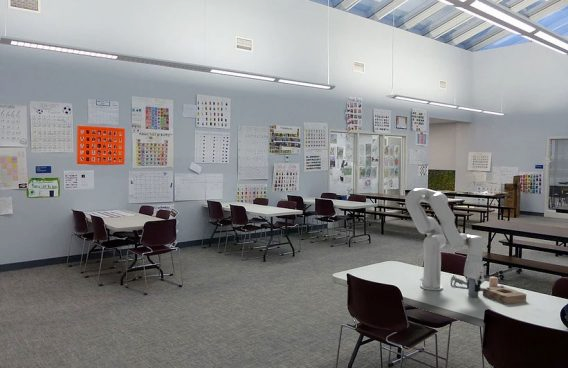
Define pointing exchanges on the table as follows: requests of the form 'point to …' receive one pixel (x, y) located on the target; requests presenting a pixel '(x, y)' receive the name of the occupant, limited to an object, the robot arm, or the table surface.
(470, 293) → the sleeve
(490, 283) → the terracotta sleeve
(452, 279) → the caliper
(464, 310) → the table surface
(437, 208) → the robot arm
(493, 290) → the jig
